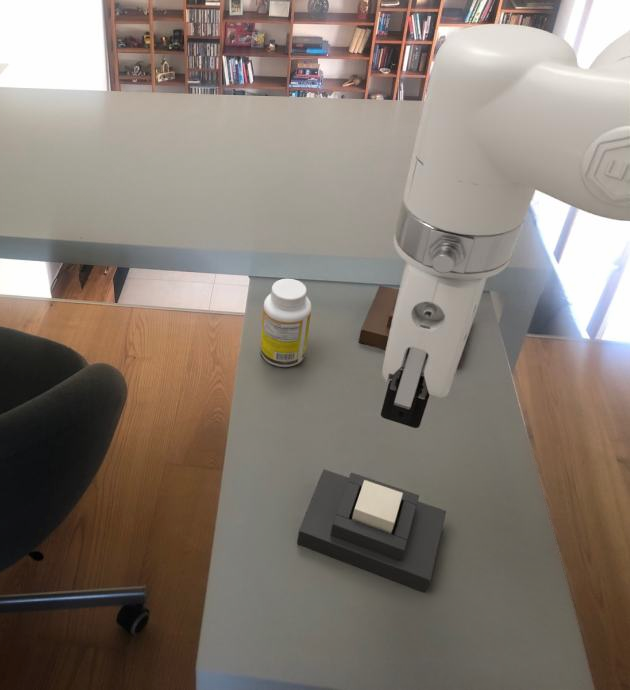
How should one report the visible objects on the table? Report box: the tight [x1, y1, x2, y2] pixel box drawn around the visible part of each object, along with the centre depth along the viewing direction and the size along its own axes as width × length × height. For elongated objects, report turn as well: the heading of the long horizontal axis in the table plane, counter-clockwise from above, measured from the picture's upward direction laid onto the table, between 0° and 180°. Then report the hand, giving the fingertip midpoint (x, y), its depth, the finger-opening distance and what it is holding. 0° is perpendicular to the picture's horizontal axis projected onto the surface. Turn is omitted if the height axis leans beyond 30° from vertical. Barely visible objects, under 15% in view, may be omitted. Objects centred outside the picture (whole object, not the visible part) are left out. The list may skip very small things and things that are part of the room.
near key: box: [352, 480, 403, 534], centre depth 64 cm, size 4×4×2 cm
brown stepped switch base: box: [358, 285, 464, 369], centre depth 87 cm, size 12×10×4 cm
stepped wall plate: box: [296, 468, 447, 593], centre depth 65 cm, size 12×8×4 cm, turn 64°
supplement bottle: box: [260, 278, 312, 368], centre depth 83 cm, size 6×6×10 cm
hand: (401, 416), depth 58 cm, fingers closed
